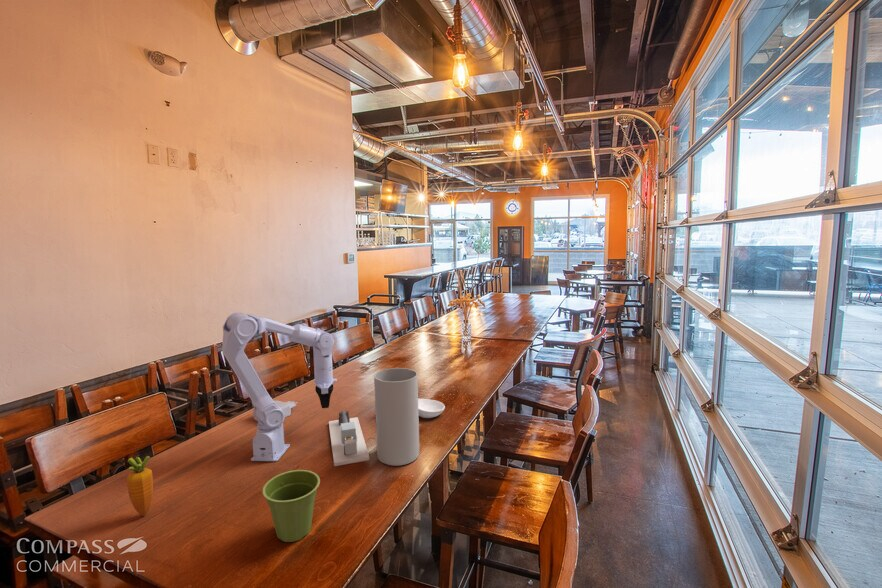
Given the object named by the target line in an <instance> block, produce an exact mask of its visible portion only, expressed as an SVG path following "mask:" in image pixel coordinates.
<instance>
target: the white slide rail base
mask: <svg viewBox="0 0 882 588" xmlns="http://www.w3.org/2000/svg"><path fill="white" fill-rule="evenodd" d="M349 413H350V412H349V410H341V411H340V412H339V411H338V419H334V420H329V421H328V427H329V428H328V429H329V435H330V436H329V437H330V442H331V443H330V444H331V451H332V459H333V467H338V466H343V465H348V464H354V463H360V462H367V461H370V455H369V450H368V447H367V445H366V441H365V437H364V434H363V431H362V428H361V425H360V421H359V417H358V416H357V417H350V414H349ZM348 422H354V424H355V428H356V435H357V442H356V439H355V438H352V437H347V438H345V440H344V444H342V441H341V432H340V430H341V424H342V423H348Z"/></svg>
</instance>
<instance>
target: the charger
mask: <svg viewBox="0 0 882 588" xmlns="http://www.w3.org/2000/svg"><path fill="white" fill-rule="evenodd" d="M273 401H274V402H275V403H276V405H277V406H278V407H280V408H282V409H283V410H284V412H285V418H288V417H290V416H291V414H292V409H294V408H295V407H297V404H298V401H296V402H295V401H291V400H288V401H285V402H284V401H282V400H273ZM252 413H253V420H254V421H257V422H258V420H259V418H257V417H256V416H255V414H254V408H253V410H252Z"/></svg>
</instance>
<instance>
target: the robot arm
mask: <svg viewBox="0 0 882 588" xmlns="http://www.w3.org/2000/svg"><path fill="white" fill-rule="evenodd" d="M222 331H223V332H222V333H223V335H222V343H221V344H222V346H221V352H222V353H223V355H224V357H225V359H226V360H227V362H228V364H229V366H230V368H231V369H232V370H233V372H234V373H235V375H236V377H237V378H238V379H237V380H239V382H240V383H241V385H242V387H243V388H244V390H245V392H246V394H247V395H248V397H249V398H250V400H251V404H252V405H253V409H254V414H255V416H256V417H257V418H259V420H258V421H257V424H256V427H257V429H256V434H255V435H254V437H253V439H252V450H253V451H252V453H253V457H251V458H250V461H251V462H277V461H279V459H281V457H282V456H283V455H284V453H286V451H287V450H288V449H289V448H290V446H291V444H290V443H285V431H284V421H285V418H286V417H285V412H284V410H283V409H282V408H280V407H278V406H277V405H276V403H275V402H274V401H275V400H274V399H273V398H272V397H271V395H270V394H269V392H268V391H267V389H266V387H265V386H264V384H263V382H262V380H261V379H260V377H259V375H258V373H257V372H256V370H255V367H254V366H253V365H252V363H251V361H250V360H249V357H248V356H247V355H246V353H245V351H244V350H245V348H246V346H247V344H248V343H249V342H250V340H251V339H252V338H253V337H254V336H255V335H256V334H259V335H260V334H262V333H264V332H266V331H267V332H271V333H275V334H279V335H283V336H288V338H290V341H291V342H293V343H296V344H300V345H305V346H308V347H312V349H313V367H314V368H313V370H314V385H315V387H314V388H315V389H314V390H315V393H316V394H317V396H318V398H319V402H320V406H321V409H329V408H330V403H331V395H332V393H333V391H334V383H337V382H338V379H337V378H334V374H333V372H334V371H333V354H332V351H333V350H332V349H333V347H334V345H335V342H336V341H335V339H334V337H333V335H332V334H331V333H329V332H327V331H324V330H321V328H319V327H316V328H314V327H311V326H308V324H307V323H304V322H301V323H296V324H294V325H289V324H285V323H283V322H280V321H277V320H273V319H270V318H267V317H264V316H261V315H254V314H249V313H248V314H244V313H243V312H237V311H236V312H233V313H232V314H229V315H228V317H227V318H226V319H225V322H224V324H223V325H222ZM254 414H253V415H254Z"/></svg>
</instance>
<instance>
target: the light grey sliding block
mask: <svg viewBox="0 0 882 588" xmlns="http://www.w3.org/2000/svg"><path fill="white" fill-rule="evenodd" d="M340 432H341V441H342V444H344V440H345V438H347V437H352V438H355V439H356V442H357V435H356V428H355V424H354V422H348V423H342V424H341V430H340Z"/></svg>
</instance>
